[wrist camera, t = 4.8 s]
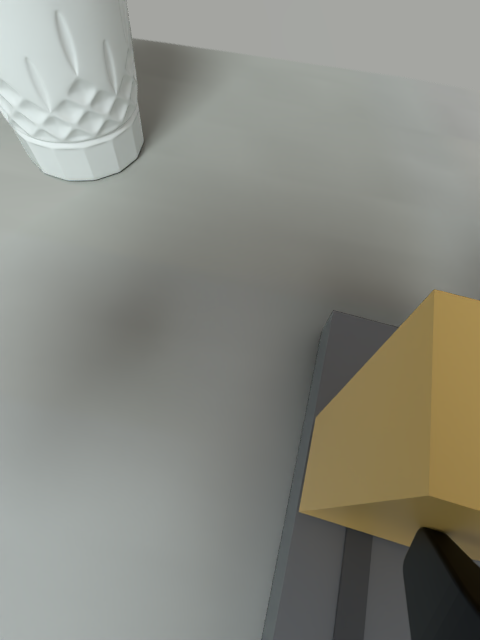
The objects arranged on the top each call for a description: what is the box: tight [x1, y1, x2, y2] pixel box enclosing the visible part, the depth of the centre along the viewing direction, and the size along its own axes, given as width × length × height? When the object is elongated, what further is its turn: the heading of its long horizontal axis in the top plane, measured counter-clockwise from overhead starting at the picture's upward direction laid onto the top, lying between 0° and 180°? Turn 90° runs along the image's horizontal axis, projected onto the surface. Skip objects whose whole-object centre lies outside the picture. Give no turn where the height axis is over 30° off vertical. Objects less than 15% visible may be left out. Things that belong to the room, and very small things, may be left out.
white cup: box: [0, 0, 144, 181], centre depth 18 cm, size 8×8×10 cm
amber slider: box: [299, 289, 480, 561], centre depth 8 cm, size 3×4×8 cm
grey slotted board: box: [262, 310, 480, 640], centre depth 12 cm, size 16×12×2 cm
